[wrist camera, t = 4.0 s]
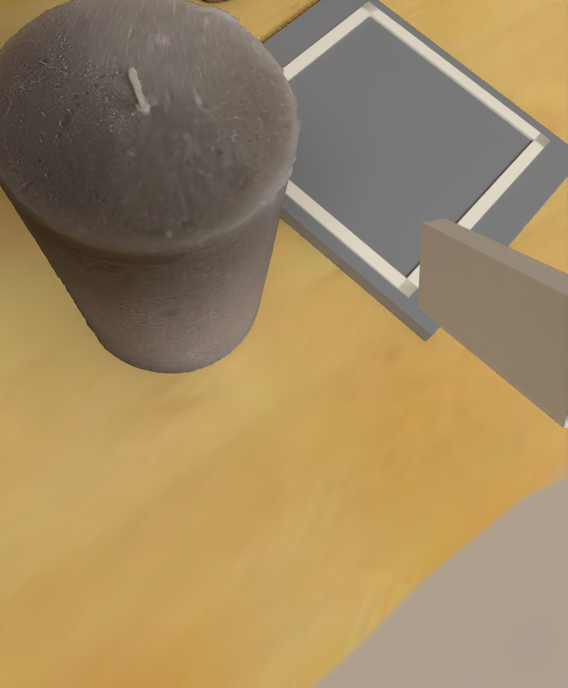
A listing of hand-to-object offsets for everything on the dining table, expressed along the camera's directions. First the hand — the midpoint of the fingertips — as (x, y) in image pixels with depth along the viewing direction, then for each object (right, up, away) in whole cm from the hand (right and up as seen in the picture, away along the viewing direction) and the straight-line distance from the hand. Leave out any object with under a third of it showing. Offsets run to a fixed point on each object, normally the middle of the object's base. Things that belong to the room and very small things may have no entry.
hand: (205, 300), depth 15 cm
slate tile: (+8, +11, +19) cm, 24 cm away
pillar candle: (-4, +2, +14) cm, 15 cm away
